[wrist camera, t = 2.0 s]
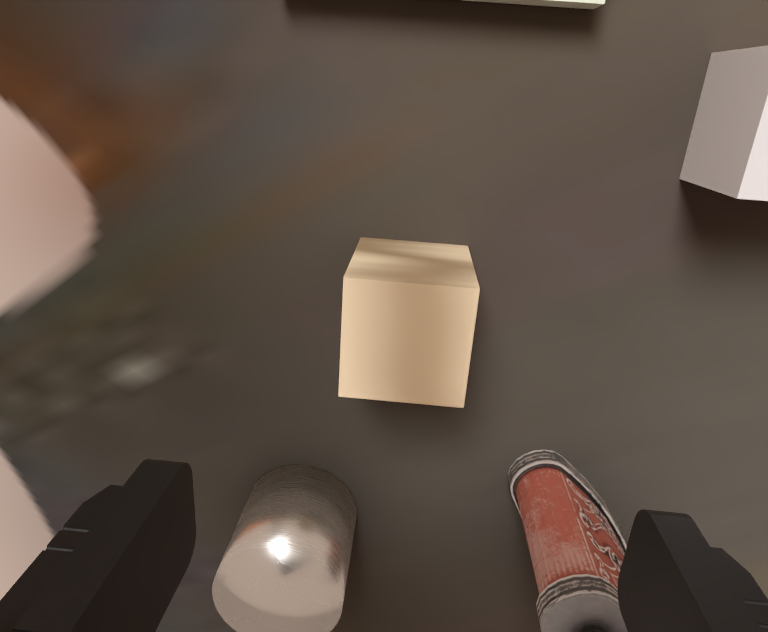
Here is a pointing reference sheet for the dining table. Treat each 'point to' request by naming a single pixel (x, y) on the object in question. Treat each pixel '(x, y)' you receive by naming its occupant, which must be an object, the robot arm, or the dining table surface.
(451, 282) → the beech block
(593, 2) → the plate
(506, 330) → the dining table surface
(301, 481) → the metal tin
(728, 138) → the white block
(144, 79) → the dining table surface
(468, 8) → the dining table surface
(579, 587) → the lighter
